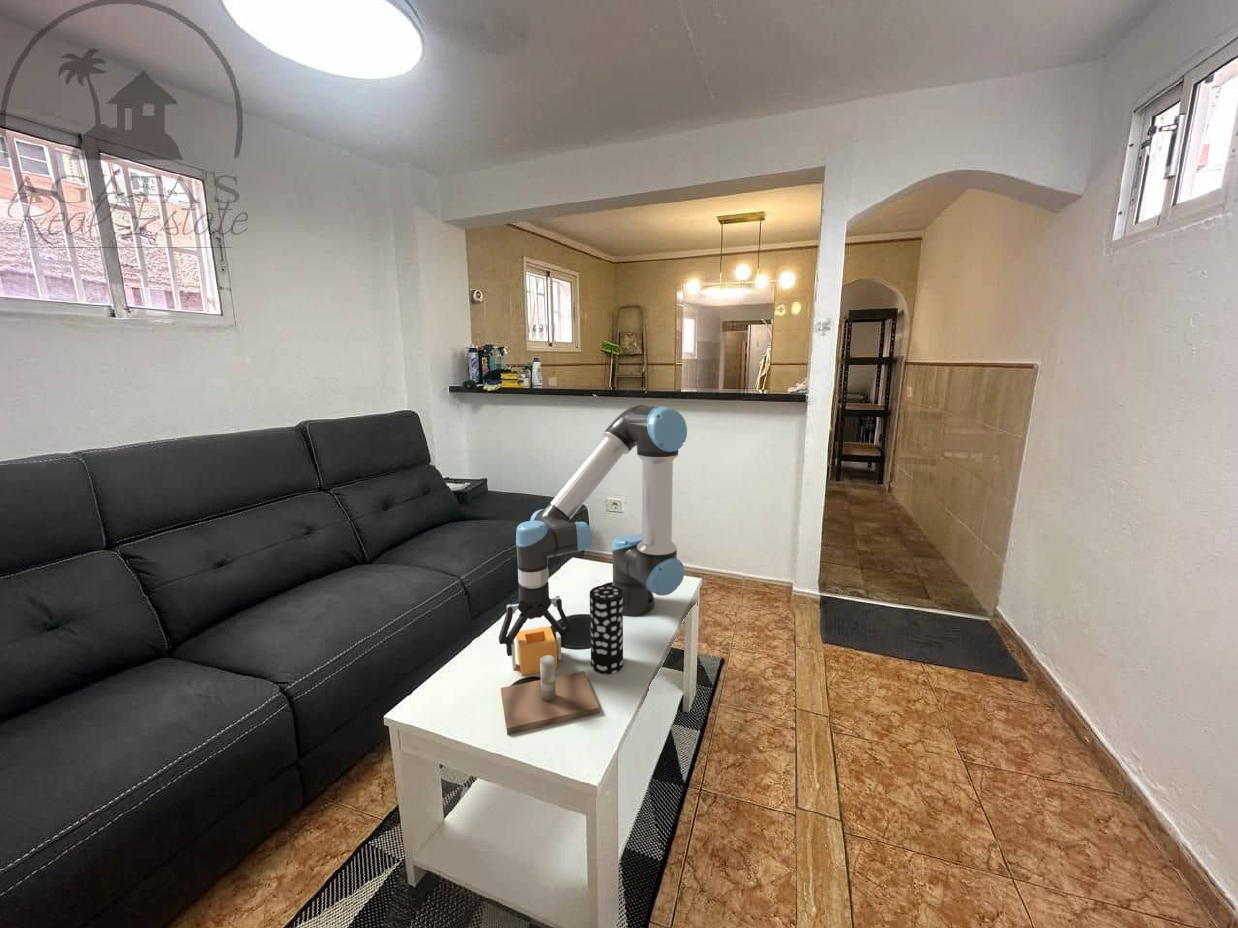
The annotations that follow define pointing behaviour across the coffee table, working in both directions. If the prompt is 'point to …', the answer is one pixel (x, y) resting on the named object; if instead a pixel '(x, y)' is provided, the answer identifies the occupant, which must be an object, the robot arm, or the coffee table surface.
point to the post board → (547, 712)
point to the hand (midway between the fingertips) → (536, 661)
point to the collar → (535, 648)
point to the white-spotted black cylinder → (606, 629)
